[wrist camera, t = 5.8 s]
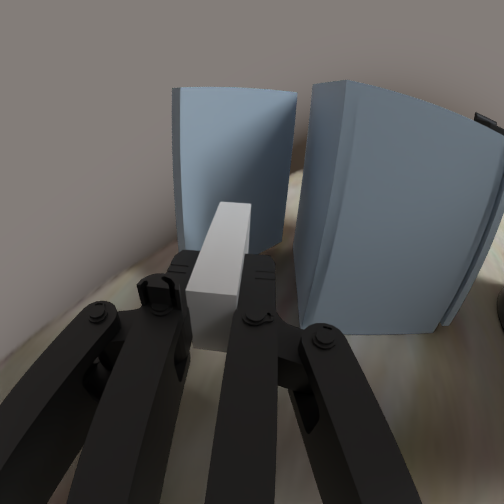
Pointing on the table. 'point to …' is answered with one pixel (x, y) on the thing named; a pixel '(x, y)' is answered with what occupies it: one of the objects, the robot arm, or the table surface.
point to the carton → (392, 210)
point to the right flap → (231, 159)
